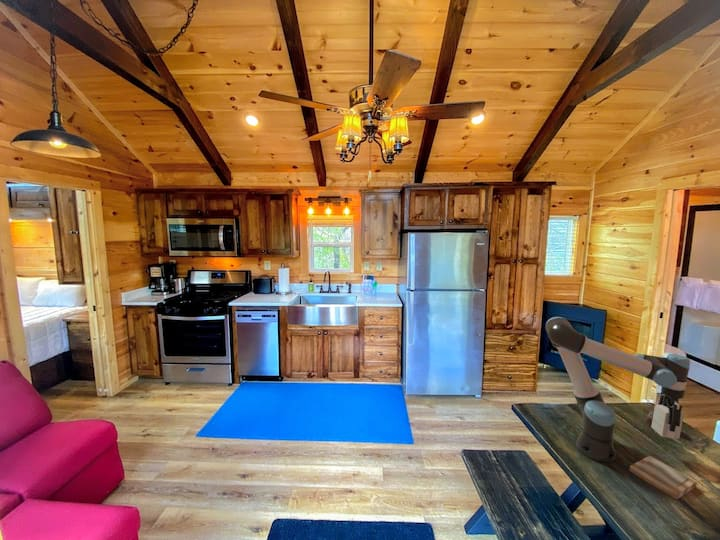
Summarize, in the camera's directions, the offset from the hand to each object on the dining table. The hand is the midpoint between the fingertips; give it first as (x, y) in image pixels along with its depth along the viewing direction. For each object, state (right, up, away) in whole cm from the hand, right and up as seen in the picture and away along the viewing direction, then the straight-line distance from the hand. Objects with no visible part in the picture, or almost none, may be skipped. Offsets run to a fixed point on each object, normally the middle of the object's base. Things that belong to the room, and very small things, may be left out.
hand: (665, 430), depth 148 cm
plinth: (-16, -14, -14) cm, 25 cm away
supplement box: (0, -2, 0) cm, 2 cm away
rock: (+17, -9, +20) cm, 27 cm away
